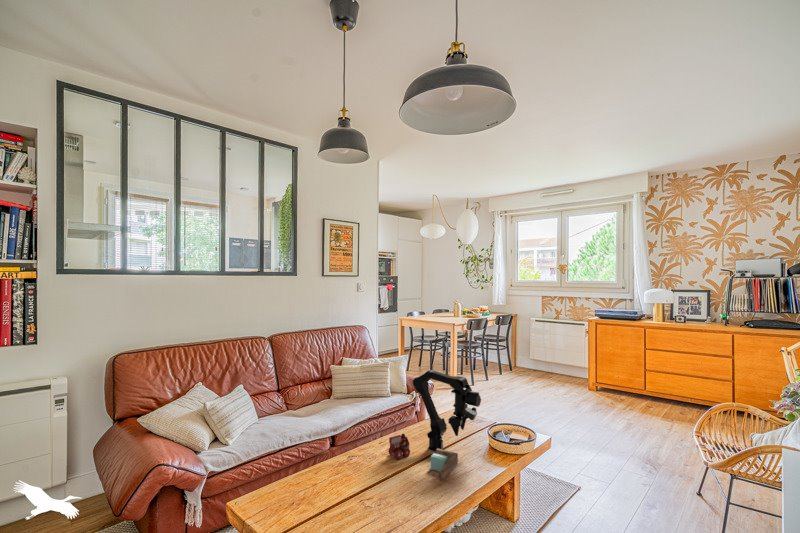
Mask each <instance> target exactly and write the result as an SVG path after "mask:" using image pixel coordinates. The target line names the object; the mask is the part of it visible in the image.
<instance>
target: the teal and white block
mask: <svg viewBox="0 0 800 533" xmlns="http://www.w3.org/2000/svg"><path fill="white" fill-rule="evenodd" d="M447 459H448V456H444V455H440V454H436V452H433V453H432V454H431V455H430V467H431V469H433V470H436V471H440V472H441V469H442V468H443V466H444V465H445V464H446V463H447ZM433 470H432V471H433ZM436 471H435V472H436ZM440 472H439V473H440Z"/></svg>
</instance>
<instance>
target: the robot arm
mask: <svg viewBox="0 0 800 533" xmlns="http://www.w3.org/2000/svg"><path fill="white" fill-rule="evenodd" d="M430 380H434V381H438V382H440V383H442V384H443V383H444V384H447V385H448V386H450V387H451V388H452V390H451V391H450V393H452V394H454V404H452V405H453V406H452V407H454V412H453V413H452V414H453V415H451V416H450V417H449V418H448V419H447V420H448V421H447V423H448V424H449V425H450V427H451V428H452V430H453V433H454V435H455V436H456V437H458V436H459V432H460V430H462V431H463V430H464V429H465V427H466V426H465V425H466V422H467V419H469V420H471V421H474V420H475V419H476V416H477V415H478V411H477V407H480V405H481V403H482V398H481V395H480V392H479V391H478V392H477V391H476V392H475V391H473V389H472V388H471V386H470V384H469V382H468V379H467V378H466V377H465V376H459V375H458V376H452V375H449V374H446V373H442V372H438V371H436V370H434V369H429V370H427V371H426V372H425V373H423V374H421V375H420V376H416V377H414V378H413V380H412V385H413V387H414V389H415V391H416V392H417V393H419V395H420V396H421V399H422V402H423V405H424V407H425V410H426V413H427V415H428V416H429V419H430V420H429V421H430V422H429V423H430V424H429V425H430V431H428V432H427V434H426V435H427V438H428V439H429V440H428V447H427V450H431V451H434V452H436V449H437V448H438V449H442V450H443V447H444V440H443V436H444V434H445V433H446V432H447V429H448V427H447V423H446V421H445V419H444V418H443V417H442V418H441V417H440V416H439V413H438V410H437V409H436V407H435V403H434V401H433V399H432V396H431V394H430V391H429V388H430V386H429V385H430V384H429V381H430ZM468 405H469V406H472V408H471V407H468Z"/></svg>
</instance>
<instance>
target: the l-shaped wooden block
mask: <svg viewBox="0 0 800 533" xmlns="http://www.w3.org/2000/svg"><path fill="white" fill-rule="evenodd" d="M435 453H436V454H440V455H444V456H448V459H447V463H446V464H445V465H444V466H443V468H442V469H441V472H440V471H436V470H433V469H431V466H430V467H429V468H428V470H430V471H433V472H436V473H439V474H440V481H442V482H445V481H446V479H447V478H448V476H450V474H451V473H452V472H453V471H454V469H455V468H456V466H457V465H458V462H459V454H458V452H455V451H449V450H446V449H443V448H442V449H438V448H437V449H436V451H435Z"/></svg>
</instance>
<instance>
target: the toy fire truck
mask: <svg viewBox="0 0 800 533" xmlns="http://www.w3.org/2000/svg"><path fill="white" fill-rule="evenodd" d="M388 443H389V448H388V450H387V451H388V454H389V455H390V456H394V458H395V460H400V459H401V458H402V456H403V457H405V458H406V456H407V457H409V456H410V454H411V450H410V441H409V438H408V436H406V434H405V433H402V434H399V435H395V436H391V437H389V438H388Z"/></svg>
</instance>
